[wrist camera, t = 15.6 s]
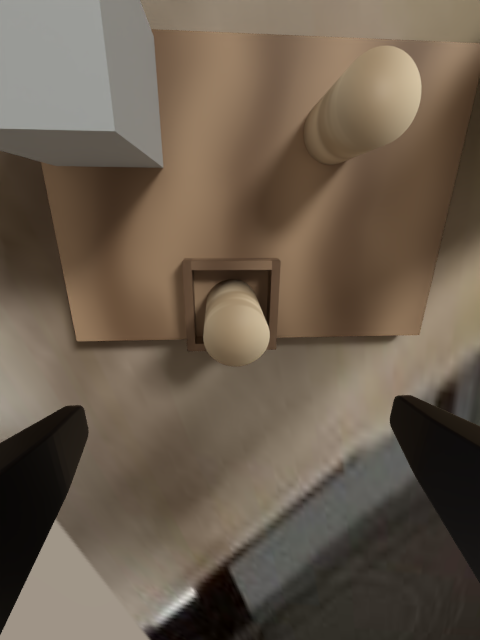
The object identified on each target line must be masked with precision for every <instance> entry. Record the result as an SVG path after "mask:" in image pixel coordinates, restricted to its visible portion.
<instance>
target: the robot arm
mask: <svg viewBox="0 0 480 640" xmlns="http://www.w3.org/2000/svg"><path fill="white" fill-rule="evenodd" d="M390 425H391V428H392V430H393V432H394V434H395V436H396V438H397V440H398V442H399V444H400V446H401V448H402V451H403V453H404V455H405V457H406V459H407V461H408V463H409V465H410V467H411V469H412V471H413V473H414V475H415V477H416V478H417V480H418V482H419V484H420V485H421V487H422V489H423V490H424V492H425V493H426V495H427V497H428V498H429V500H430V502H431V503H432V505H433V507H434V508H435V510H436V512H437V513H438V515H439V517H440V518H441V520H442V522H443V523H444V525H445V526H446V528H447V530H448V531H449V533H450V535H451V536H452V538H453V540H454V541H455V543H456V545H457V546H458V548H459V550H460V551H461V553H462V555H463V556H464V558H465V559H466V561H467V563H468V564H469V566H470V568H471V569H472V571H473V573H474V574H475V576H476V578H477V579H478V581H479V583H480V426H478V425H476V424H473V423H471V422H469V421H467V420H465V419H462V418H460V417H458V416H456V415H453V414H451V413H449V412H447V411H445V410H442V409H440V408H438V407H436V406H433V405H431V404H429V403H427V402H425V401H422V400H420V399H418V398H416V397H413V396H411V395H401V396H396V397H395V399H394V402H393V406H392V411H391V415H390ZM87 438H88V425H87V420H86V416H85V411H84V408H83V407H82V406H80V405H76V406H65V407H63V408H61V409H60V410H58V411H56V412H54V413H53V414H51V415H49V416H47V417H46V418H44V419H42V420H40V421H38V422H37V423H35V424H33V425H31V426H30V427H28V428H26V429H24V430H23V431H21V432H19V433H17V434H15V435H14V436H12V437H10V438H8V439H7V440H5V441H3V442H1V443H0V634H1V632H2V630H3V628H4V626H5V624H6V621H7V619H8V617H9V615H10V613H11V611H12V609H13V607H14V605H15V603H16V601H17V599H18V596H19V594H20V592H21V590H22V588H23V586H24V584H25V581H26V580H27V577H28V575H29V573H30V571H31V569H32V567H33V565H34V563H35V561H36V558H37V557H38V554H39V552H40V550H41V548H42V546H43V544H44V542H45V540H46V538H47V535H48V533H49V531H50V529H51V527H52V525H53V523H54V521H55V519H56V517H57V515H58V512H59V510H60V508H61V506H62V504H63V502H64V500H65V498H66V495H67V493H68V491H69V488H70V486H71V483H72V480H73V477H74V475H75V472H76V469H77V466H78V463H79V461H80V458H81V455H82V452H83V449H84V447H85V444H86V441H87Z"/></svg>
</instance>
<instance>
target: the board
mask: <svg viewBox="0 0 480 640" xmlns="http://www.w3.org/2000/svg"><path fill="white" fill-rule="evenodd" d="M151 30H152V33H153V36H154V46H155V60H156V73H157V87H158V101H159V114H160V128H161V141H162V155H163V168H147V167H84V166H54V165H51V164H47V163H43V162H41V165H42V170H43V175H44V180H45V185H46V190H47V195H48V200H49V205H50V210H51V215H52V220H53V225H54V230H55V235H56V240H57V245H58V250H59V255H60V260H61V265H62V270H63V275H64V280H65V285H66V290H67V295H68V300H69V305H70V310H71V314H72V319H73V324H74V329H75V334H76V339H77V341H121V340H175V339H187V351H207V350H206V348H205V345H204V341H203V334H204V324H205V313H206V303H207V297H208V294H209V292H210V290H211V289H212V288H213V287H214V286H215V285H216V284H217V283H219V282H221V281H224V280H228V279H237V280H240V281H243V282H245V283H246V284H248V285H249V286H250V287H251V288H252V289H253V291H254V293H255V295H256V297H257V300H258V302H259V305H260V307H261V310H262V312H263V315H264V317H265V320H266V322H267V324H268V327H269V332H270V339H269V343H268V346H267V348H266V350H276V342H277V338H283V337H337V336H390V335H419V334H420V330H421V325H422V321H423V317H424V312H425V308H426V304H427V300H428V295H429V291H430V287H431V283H432V278H433V274H434V270H435V265H436V261H437V257H438V253H439V248H440V244H441V240H442V235H443V231H444V227H445V223H446V218H447V214H448V210H449V206H450V201H451V197H452V193H453V188H454V184H455V180H456V176H457V171H458V167H459V163H460V159H461V154H462V150H463V146H464V141H465V137H466V133H467V129H468V124H469V120H470V116H471V112H472V107H473V103H474V99H475V94H476V90H477V86H478V82H479V77H480V43H462V42H438V41H415V40H391V39H368V38H344V37H320V36H297V35H273V34H249V33H226V32H202V31H179V30H155V29H151ZM378 46H394V47H397V48H399V49H401V50H403V51H405V52H406V53H407V54H408V55H409V56H410V57H411V58H412V59H413V61H414V62H415V64H416V66H417V68H418V71H419V74H420V78H421V100H420V104H419V108H418V111H417V113H416V116H415V118H414V120H413V121H412V123H411V125H410V126H409V127H408V129H407V130H406V131H405V132H404V133H403V134H402V135H401V136H400V137H399V138H397V139H396V140H394V141H393V142H391V143H389V144H386V145H384V146H381V147H379V148H376V149H374V150H371V151H369V152H366V153H364V154H362V155H359V156H357V157H354V158H352V159H349V160H347V161H344V162H342V163H339V164H335V165H325V164H322V163H319V162H318V161H316V160H315V159H314V158H312V156H311V155H310V154H309V152H308V150H307V148H306V146H305V142H304V126H305V122H306V119H307V117H308V115H309V113H310V111H311V110H312V108H313V107H314V106H315V105H316V104H317V103H318V102H319V100H320V99H321V98H322V97H323V96H324V95H325V94H326V93H327V91H328V90H329V89H330V88H331V87H332V86H333V85H334V84H335V82H336V81H337V80H338V79H339V78H340V77H341V76H342V75H343V73H344V72H345V71H346V70H347V69H348V68H349V67H350V66H351V64H352V63H353V62H354V61H355V60H356V59H357V58H358V57H359V56H360V55H362V54H363V53H364V52H366V51H368V50H370V49H372V48H375V47H378Z"/></svg>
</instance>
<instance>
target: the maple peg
mask: <svg viewBox="0 0 480 640" xmlns="http://www.w3.org/2000/svg"><path fill="white" fill-rule="evenodd" d="M269 339H270V332H269V327H268V324H267V322H266V320H265V317H264V315H263V312H262V310H261V307H260V305H259V302H258V300H257V297H256V295H255V293H254V291H253V289H252V288H251V287H250V286H249V285H248V284H246V283H245V282H243V281H240V280H237V279H228V280H224V281H221V282H219V283H217V284H216V285H215V286H214V287H213V288H212V289H211V290H210V292H209V294H208V297H207V303H206V313H205V324H204V334H203V341H204V345H205V348H206V350H207V352H208V353H209V355H210V356H211V357H212V358H213V359H215V360H216V361H218V362H219V363H222V364H224V365H228V366H243V365H247V364H250V363H252V362H254V361H255V360H257V359H258V358H259V357H260V356H261V355H262V354H263V353H264V352H265V350H266V348H267V346H268V343H269Z"/></svg>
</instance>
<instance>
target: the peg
mask: <svg viewBox="0 0 480 640" xmlns="http://www.w3.org/2000/svg"><path fill="white" fill-rule="evenodd" d="M420 100H421V78H420V74H419V71H418V68H417V66H416V64H415V62H414V61H413V59H412V58H411V57H410V56H409V55H408V54H407V53H406V52H405V51H403V50H401V49H399V48H397V47H394V46H378V47H375V48H372V49H370V50H368V51H366V52H364V53H363V54H362V55H360V56H359V57H358V58H357V59H356V60H355V61H354V62H353V63H352V64H351V66H350V67H349V68H348V69H347V70H346V71H345V72H344V73H343V75H342V76H341V77H340V78H339V79H338V80H337V81H336V82H335V84H334V85H333V86H332V87H331V88H330V89H329V90H328V91H327V93H326V94H325V95H324V96H323V97H322V98H321V99H320V100H319V102H318V103H317V104H316V105H315V106H314V107H313V108H312V110H311V111H310V113H309V115H308V117H307V119H306V122H305V126H304V142H305V146H306V148H307V150H308V152H309V154H310V155H311V156H312V158H314V159H315V160H316V161H318V162H319V163H322V164H325V165H335V164H339V163H342V162H344V161H347V160H349V159H352V158H354V157H357V156H359V155H362V154H364V153H366V152H369V151H371V150H374V149H376V148H379V147H381V146H384V145H386V144H389V143H391V142H393V141H394V140H396V139H397V138H399V137H400V136H401V135H402V134H403V133H404V132H405V131H406V130H407V129H408V127H409V126H410V125H411V123H412V121H413V120H414V118H415V116H416V113H417V111H418V108H419V104H420Z"/></svg>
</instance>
